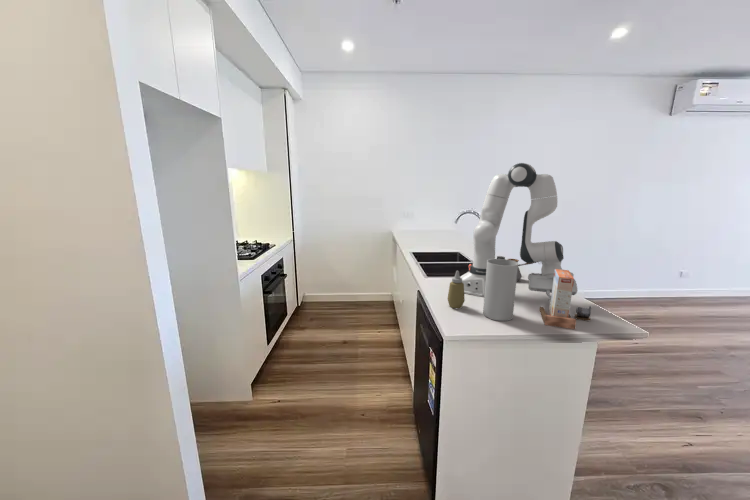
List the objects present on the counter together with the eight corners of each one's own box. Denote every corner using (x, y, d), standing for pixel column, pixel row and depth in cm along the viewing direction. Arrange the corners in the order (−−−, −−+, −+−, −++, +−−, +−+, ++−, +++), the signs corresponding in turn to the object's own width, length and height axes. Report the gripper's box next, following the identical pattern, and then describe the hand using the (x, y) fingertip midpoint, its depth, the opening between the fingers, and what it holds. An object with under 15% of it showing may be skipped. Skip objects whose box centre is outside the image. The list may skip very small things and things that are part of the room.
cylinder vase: (477, 311, 141) (481, 259, 136) (500, 308, 145) (504, 258, 140) (494, 323, 130) (499, 266, 124) (519, 319, 133) (524, 264, 128)
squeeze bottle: (452, 302, 153) (454, 267, 149) (467, 306, 147) (469, 271, 144) (443, 306, 148) (445, 271, 144) (458, 311, 142) (460, 274, 138)
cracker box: (568, 326, 127) (575, 278, 123) (551, 323, 130) (557, 276, 125) (563, 313, 139) (569, 269, 135) (548, 311, 142) (554, 268, 138)
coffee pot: (497, 279, 190) (499, 256, 187) (506, 276, 197) (508, 253, 194) (533, 288, 174) (536, 262, 171) (541, 283, 182) (544, 259, 179)
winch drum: (576, 319, 133) (578, 307, 132) (574, 315, 137) (576, 304, 136) (591, 321, 131) (593, 309, 130) (588, 317, 135) (590, 305, 134)
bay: (544, 324, 128) (545, 316, 127) (539, 310, 143) (540, 302, 142) (574, 329, 124) (576, 320, 123) (566, 314, 139) (567, 305, 138)
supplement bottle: (506, 276, 197) (507, 258, 194) (494, 275, 198) (496, 257, 195) (503, 273, 203) (505, 255, 201) (493, 272, 204) (494, 255, 202)
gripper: (529, 269, 150) (528, 294, 143) (577, 273, 143) (579, 300, 136) (527, 275, 155) (527, 300, 148) (573, 280, 148) (575, 306, 141)
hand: (552, 300), depth 142 cm, fingers closed
